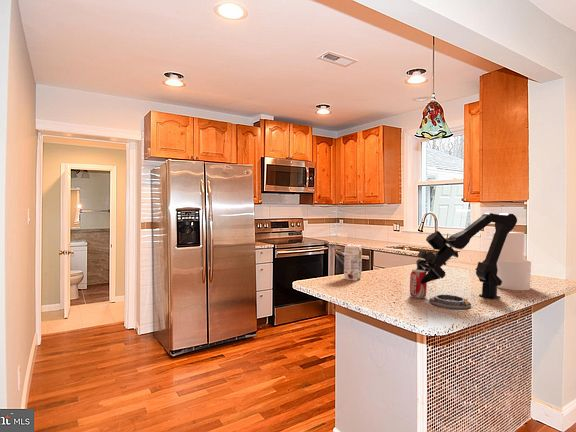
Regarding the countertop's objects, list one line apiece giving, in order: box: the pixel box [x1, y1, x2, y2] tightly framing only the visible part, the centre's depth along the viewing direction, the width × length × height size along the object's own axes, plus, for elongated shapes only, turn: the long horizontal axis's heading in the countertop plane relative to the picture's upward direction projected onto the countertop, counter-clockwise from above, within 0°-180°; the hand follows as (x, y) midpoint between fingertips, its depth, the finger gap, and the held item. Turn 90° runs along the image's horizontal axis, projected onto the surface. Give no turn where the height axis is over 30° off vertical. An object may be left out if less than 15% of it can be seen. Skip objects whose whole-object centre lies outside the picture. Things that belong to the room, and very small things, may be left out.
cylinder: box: [492, 231, 532, 291], centre depth 185 cm, size 17×17×28 cm
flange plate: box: [428, 293, 472, 310], centre depth 150 cm, size 16×16×4 cm
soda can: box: [409, 269, 428, 299], centre depth 161 cm, size 7×7×12 cm
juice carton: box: [343, 243, 363, 282], centre depth 197 cm, size 8×9×19 cm
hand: (416, 280), depth 161 cm, fingers open, 9 cm apart
